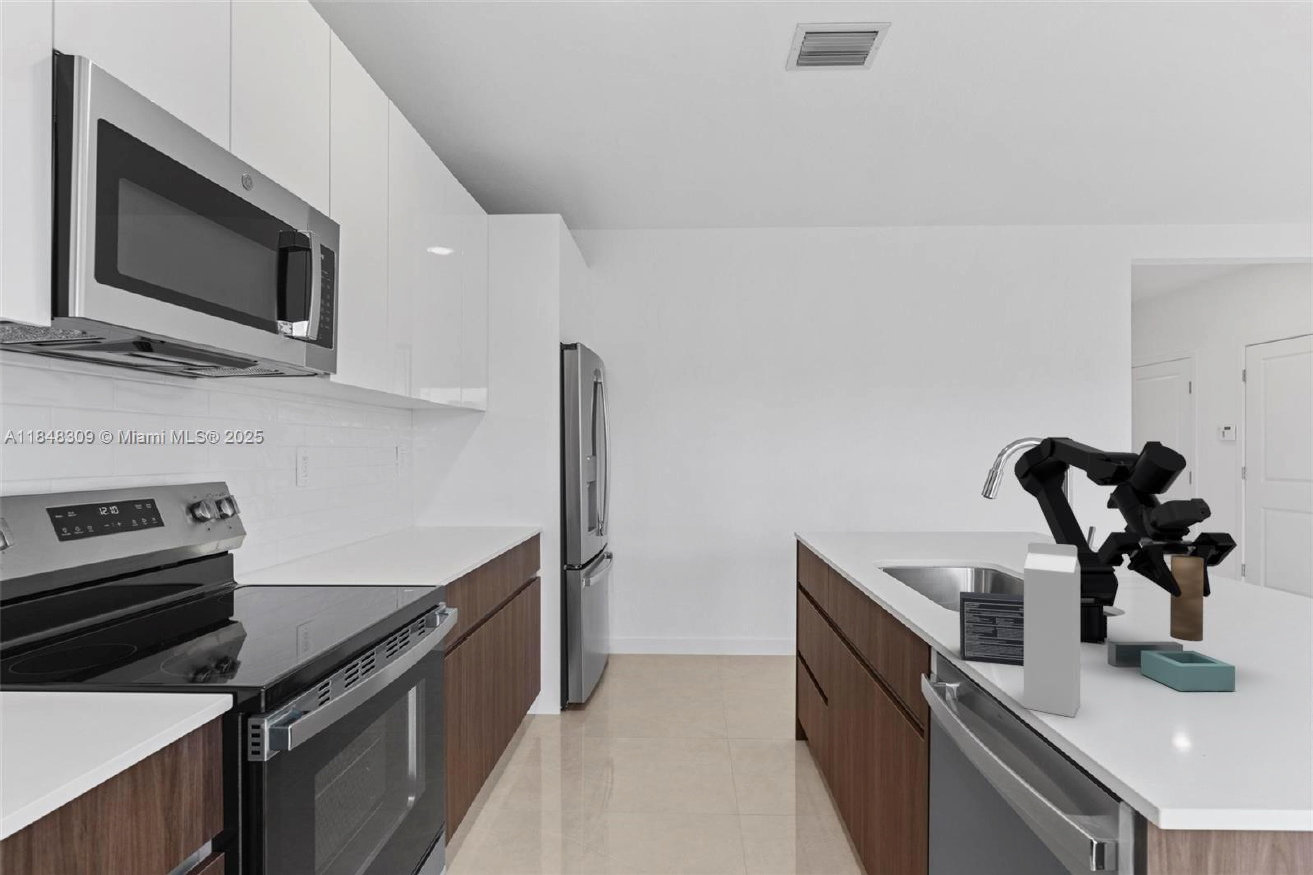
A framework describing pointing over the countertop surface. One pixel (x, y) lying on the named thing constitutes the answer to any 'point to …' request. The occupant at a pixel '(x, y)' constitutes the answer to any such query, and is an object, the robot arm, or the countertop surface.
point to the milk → (1052, 629)
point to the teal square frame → (1188, 670)
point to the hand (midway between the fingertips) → (1193, 595)
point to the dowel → (1187, 598)
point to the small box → (992, 627)
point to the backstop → (1136, 651)
